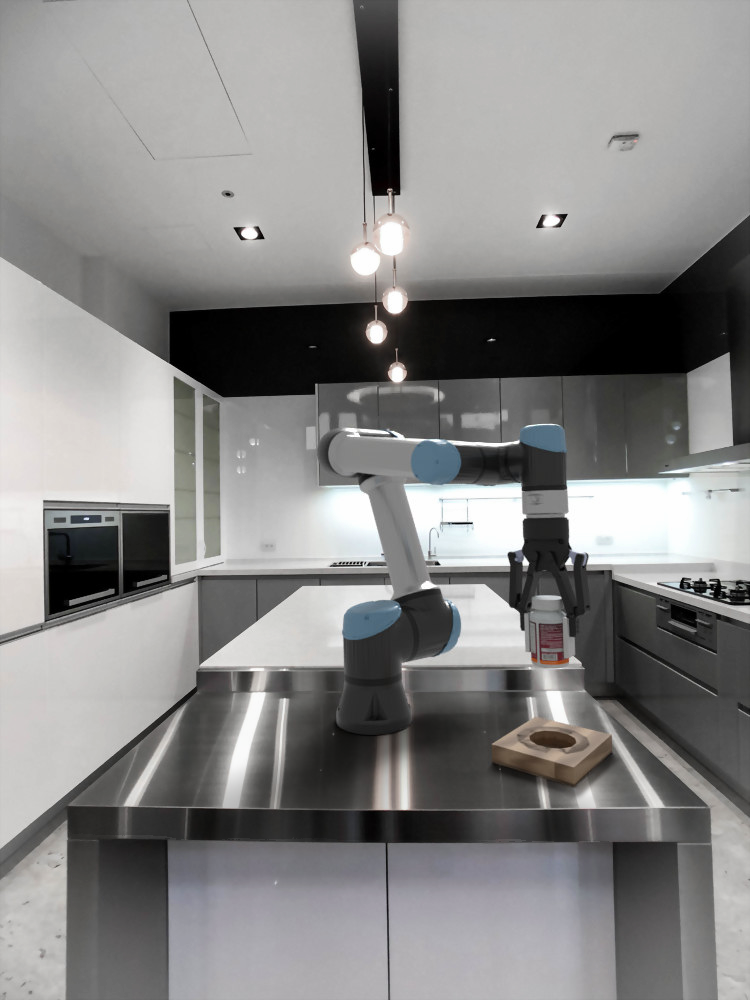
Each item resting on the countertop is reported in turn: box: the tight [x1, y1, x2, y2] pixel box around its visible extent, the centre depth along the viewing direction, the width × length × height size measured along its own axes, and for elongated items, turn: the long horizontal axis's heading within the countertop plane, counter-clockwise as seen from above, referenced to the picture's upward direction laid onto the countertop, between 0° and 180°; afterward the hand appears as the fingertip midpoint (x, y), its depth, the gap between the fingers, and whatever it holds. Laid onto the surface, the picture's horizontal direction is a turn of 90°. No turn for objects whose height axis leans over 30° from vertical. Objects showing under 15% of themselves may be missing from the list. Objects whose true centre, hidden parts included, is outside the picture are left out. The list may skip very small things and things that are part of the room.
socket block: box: [491, 716, 613, 788], centre depth 97 cm, size 14×16×3 cm
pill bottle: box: [530, 594, 570, 670], centre depth 97 cm, size 6×6×11 cm
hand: (549, 653), depth 97 cm, fingers closed on pill bottle, 6 cm apart
